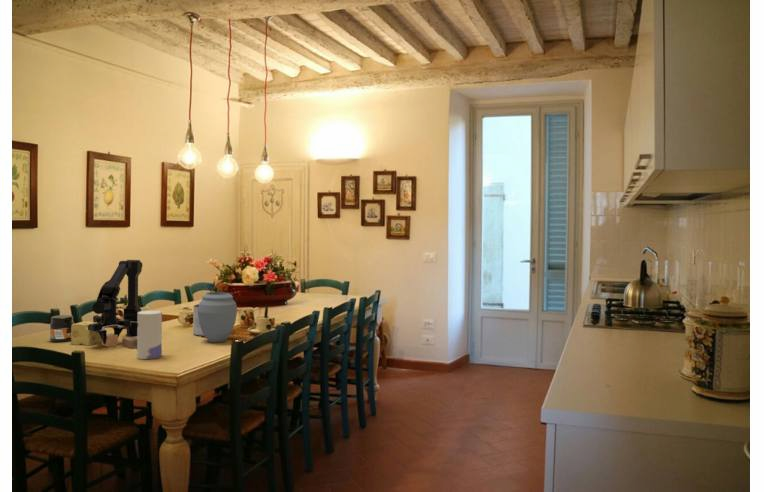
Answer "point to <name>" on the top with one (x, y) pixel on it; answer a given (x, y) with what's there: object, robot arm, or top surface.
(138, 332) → the container
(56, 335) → the supplement container
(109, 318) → the robot arm
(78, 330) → the cheese
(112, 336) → the pink cube
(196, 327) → the planter
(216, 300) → the vase
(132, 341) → the mauve short cylinder
